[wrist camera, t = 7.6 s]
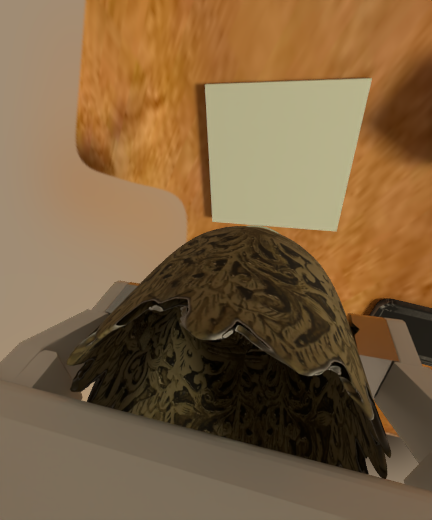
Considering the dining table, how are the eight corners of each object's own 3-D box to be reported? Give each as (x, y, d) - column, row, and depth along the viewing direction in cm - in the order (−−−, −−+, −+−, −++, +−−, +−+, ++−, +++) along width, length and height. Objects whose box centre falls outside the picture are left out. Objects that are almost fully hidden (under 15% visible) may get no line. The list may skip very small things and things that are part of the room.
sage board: (208, 83, 23) (204, 84, 22) (369, 77, 20) (372, 78, 19) (214, 217, 30) (212, 221, 29) (335, 226, 27) (336, 231, 26)
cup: (207, 315, 16) (143, 480, 10) (155, 195, 12) (0, 335, 6) (350, 310, 13) (389, 537, 7) (338, 154, 10) (400, 333, 3)
